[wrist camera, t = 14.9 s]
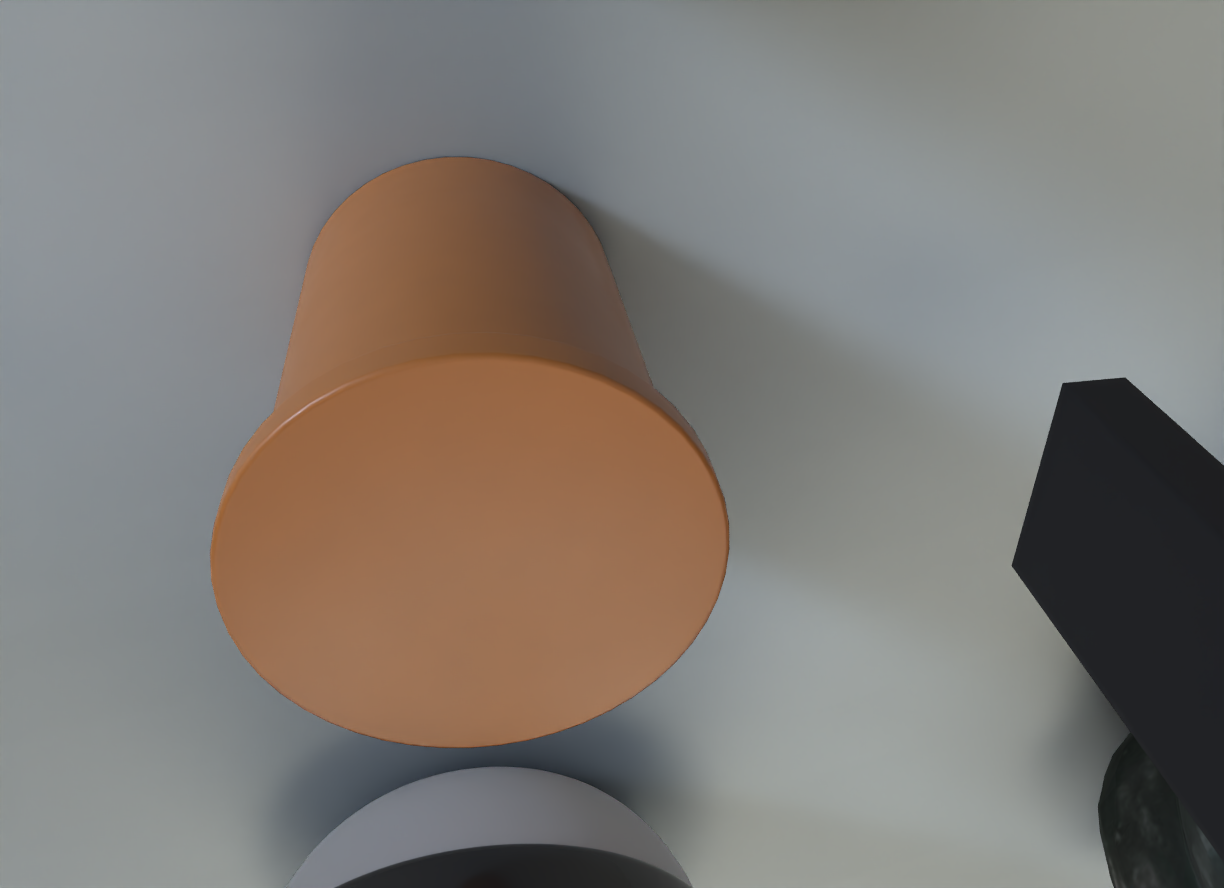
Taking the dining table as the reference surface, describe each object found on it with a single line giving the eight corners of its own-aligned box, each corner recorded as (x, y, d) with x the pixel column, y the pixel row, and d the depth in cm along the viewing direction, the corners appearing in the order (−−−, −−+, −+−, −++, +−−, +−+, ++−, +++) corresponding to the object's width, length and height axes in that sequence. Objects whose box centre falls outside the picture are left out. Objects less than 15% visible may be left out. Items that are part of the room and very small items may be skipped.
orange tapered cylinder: (317, 461, 17) (270, 777, 12) (249, 146, 14) (142, 383, 9) (630, 430, 18) (718, 718, 12) (629, 124, 15) (746, 331, 9)
